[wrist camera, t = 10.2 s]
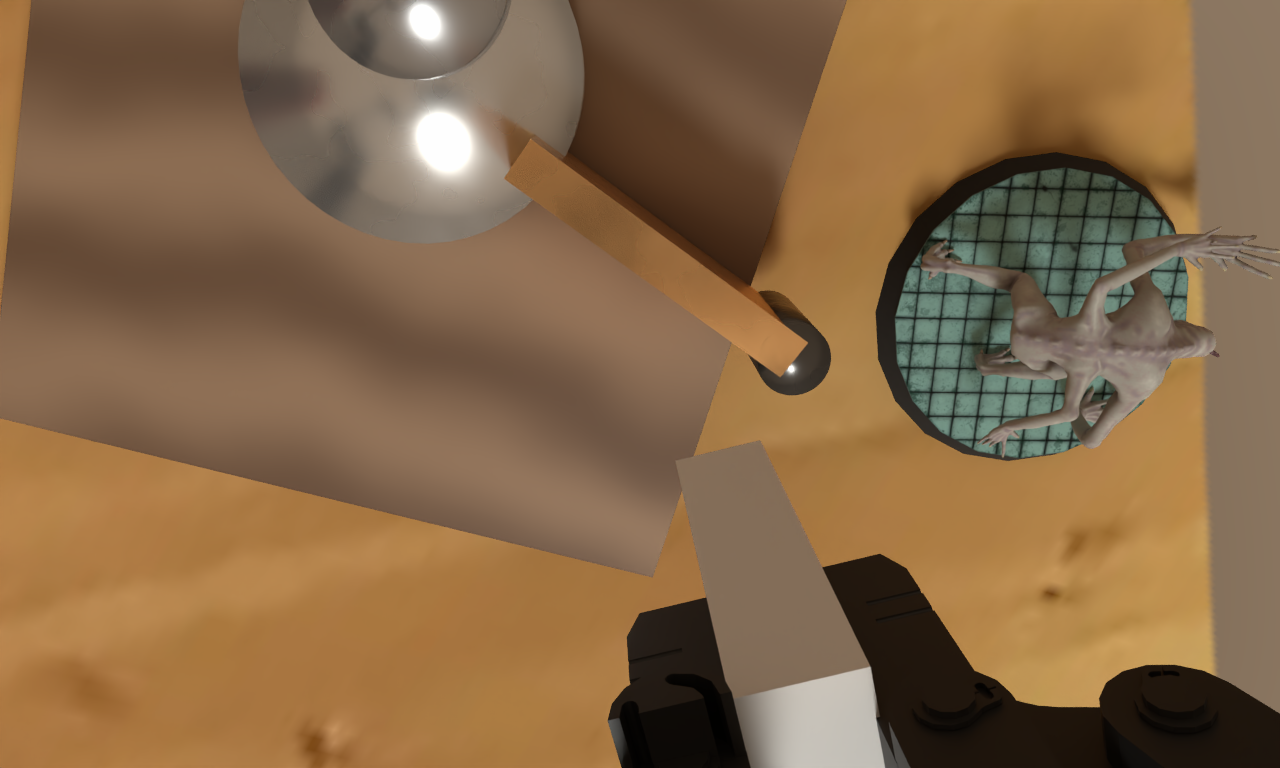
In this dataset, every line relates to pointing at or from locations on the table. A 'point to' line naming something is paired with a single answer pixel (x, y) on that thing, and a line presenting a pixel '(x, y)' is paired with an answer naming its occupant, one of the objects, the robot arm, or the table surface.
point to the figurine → (1040, 306)
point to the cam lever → (476, 145)
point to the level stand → (389, 277)
